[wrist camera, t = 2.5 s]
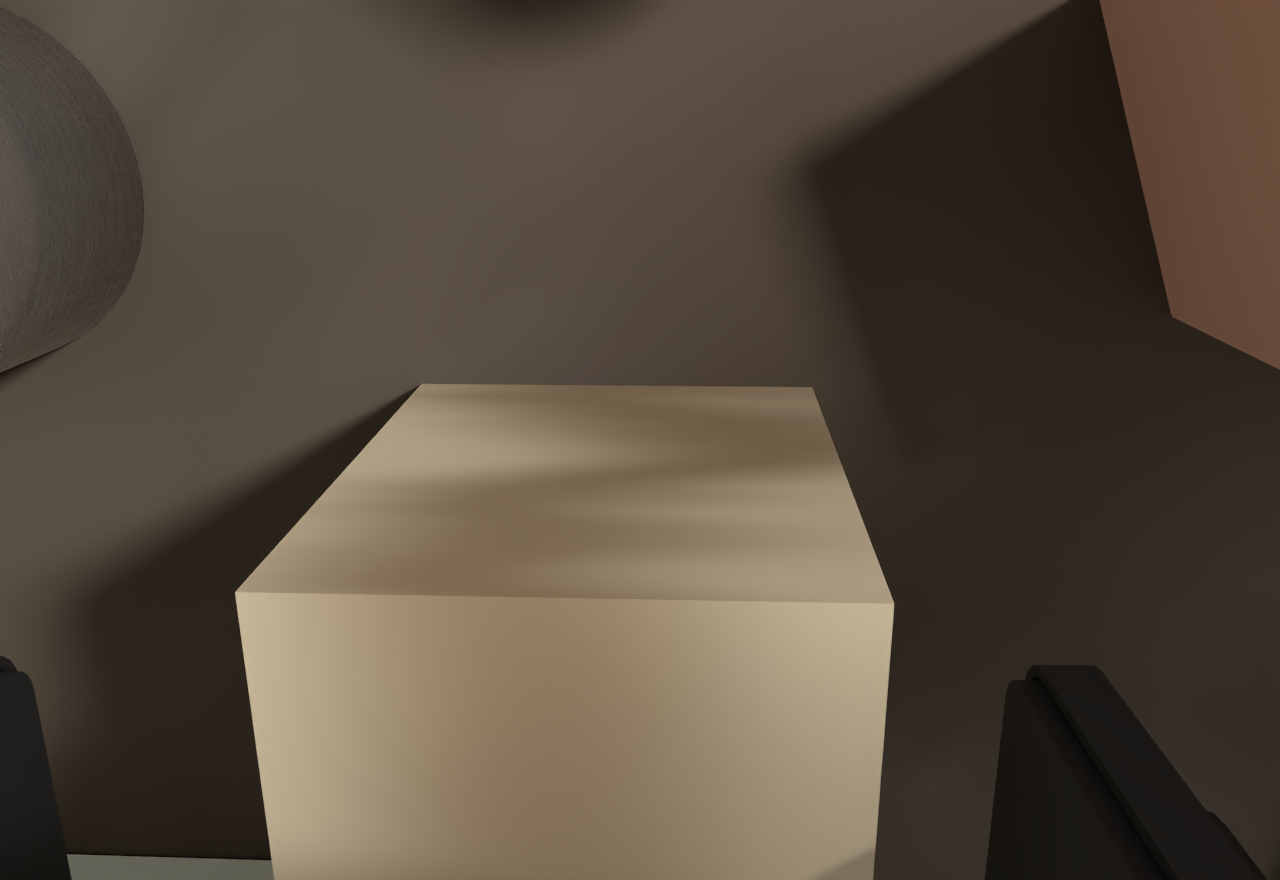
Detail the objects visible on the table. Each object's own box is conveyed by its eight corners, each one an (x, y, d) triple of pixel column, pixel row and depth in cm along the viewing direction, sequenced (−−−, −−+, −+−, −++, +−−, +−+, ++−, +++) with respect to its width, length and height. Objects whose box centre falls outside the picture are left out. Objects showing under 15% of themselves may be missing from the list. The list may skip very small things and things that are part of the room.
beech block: (811, 386, 14) (894, 602, 8) (795, 726, 15) (855, 1109, 10) (422, 382, 14) (235, 592, 8) (446, 718, 16) (302, 1088, 10)
